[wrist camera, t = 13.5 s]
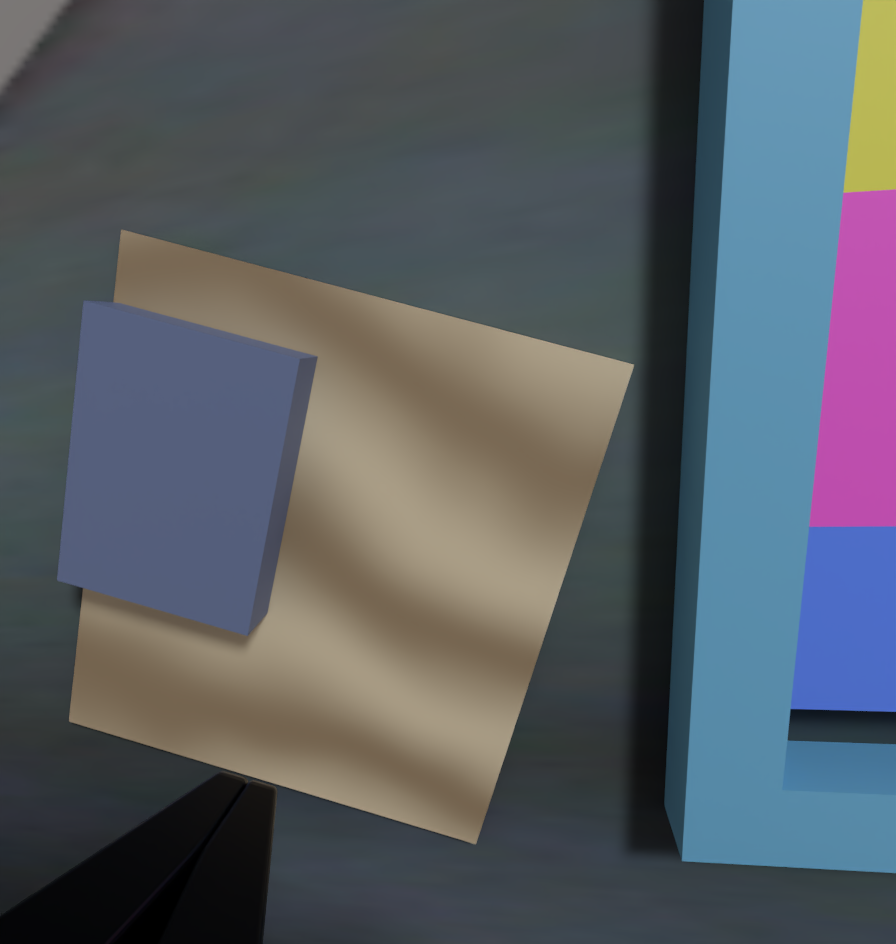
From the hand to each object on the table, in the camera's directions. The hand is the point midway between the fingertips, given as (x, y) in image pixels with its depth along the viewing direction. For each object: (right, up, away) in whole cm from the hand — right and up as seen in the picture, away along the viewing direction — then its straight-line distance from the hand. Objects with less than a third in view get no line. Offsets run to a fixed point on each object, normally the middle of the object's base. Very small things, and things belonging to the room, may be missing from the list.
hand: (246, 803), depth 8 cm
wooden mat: (-2, +2, +12) cm, 12 cm away
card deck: (-2, +4, +10) cm, 11 cm away
